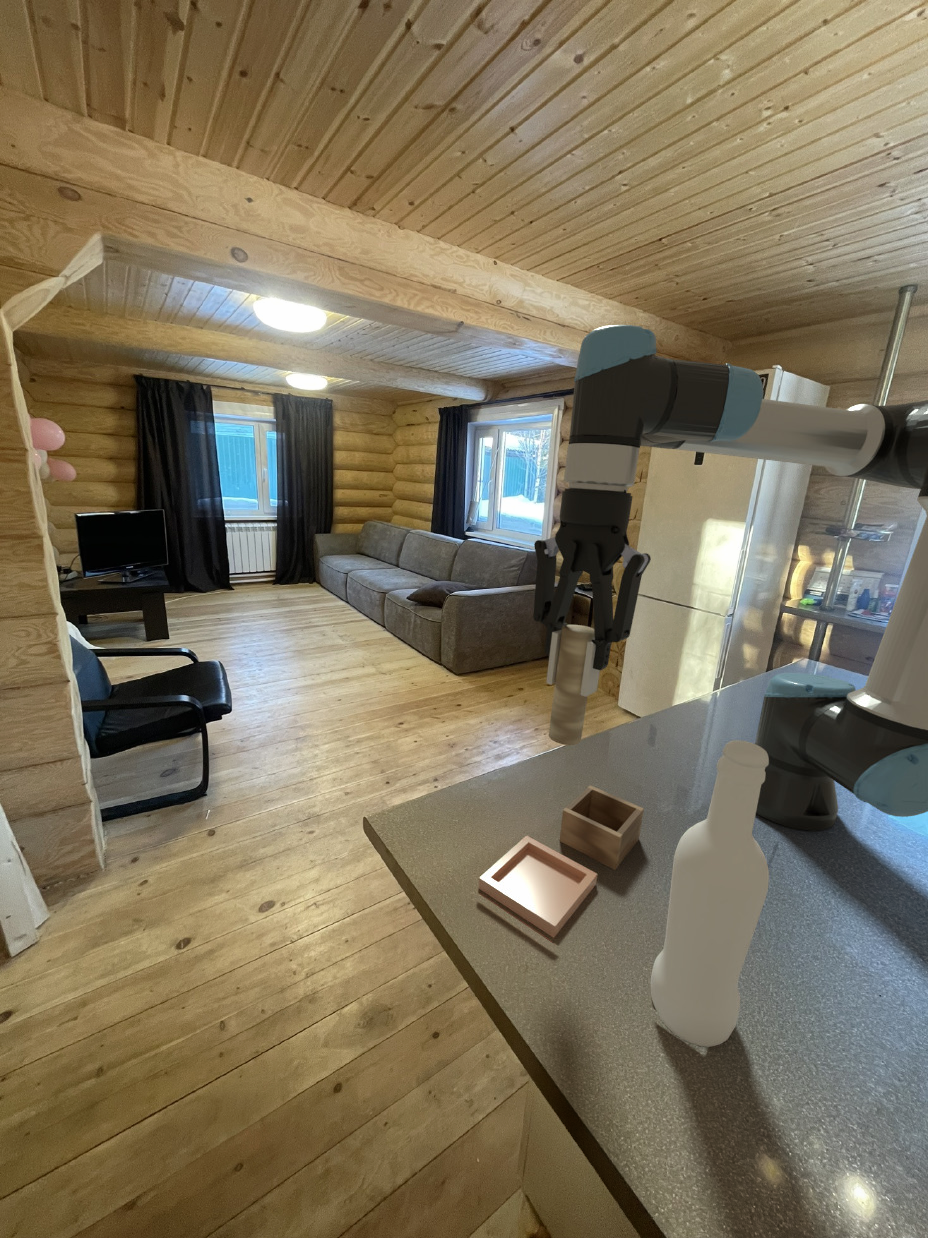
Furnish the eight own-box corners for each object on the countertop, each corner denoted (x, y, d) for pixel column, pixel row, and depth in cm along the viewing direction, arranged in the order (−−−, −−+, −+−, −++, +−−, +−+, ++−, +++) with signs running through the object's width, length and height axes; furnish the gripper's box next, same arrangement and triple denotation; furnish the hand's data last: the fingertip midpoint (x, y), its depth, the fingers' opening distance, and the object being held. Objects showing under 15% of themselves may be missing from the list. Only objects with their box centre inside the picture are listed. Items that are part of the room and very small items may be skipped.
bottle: (635, 975, 56) (678, 724, 48) (706, 972, 57) (759, 725, 49) (670, 1055, 48) (728, 772, 40) (751, 1050, 49) (824, 771, 41)
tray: (595, 889, 68) (597, 874, 67) (553, 943, 59) (555, 926, 59) (525, 849, 74) (526, 835, 74) (478, 893, 66) (479, 877, 65)
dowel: (586, 738, 64) (602, 630, 61) (570, 748, 61) (586, 636, 58) (559, 726, 67) (573, 622, 63) (542, 736, 64) (556, 628, 60)
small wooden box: (638, 843, 77) (643, 808, 75) (614, 874, 70) (619, 837, 69) (585, 818, 82) (589, 785, 80) (559, 845, 75) (563, 810, 74)
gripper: (688, 494, 54) (651, 701, 60) (549, 484, 64) (529, 661, 70) (662, 492, 48) (624, 720, 54) (514, 482, 59) (496, 674, 65)
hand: (571, 686), depth 62 cm, fingers closed on dowel, 4 cm apart
